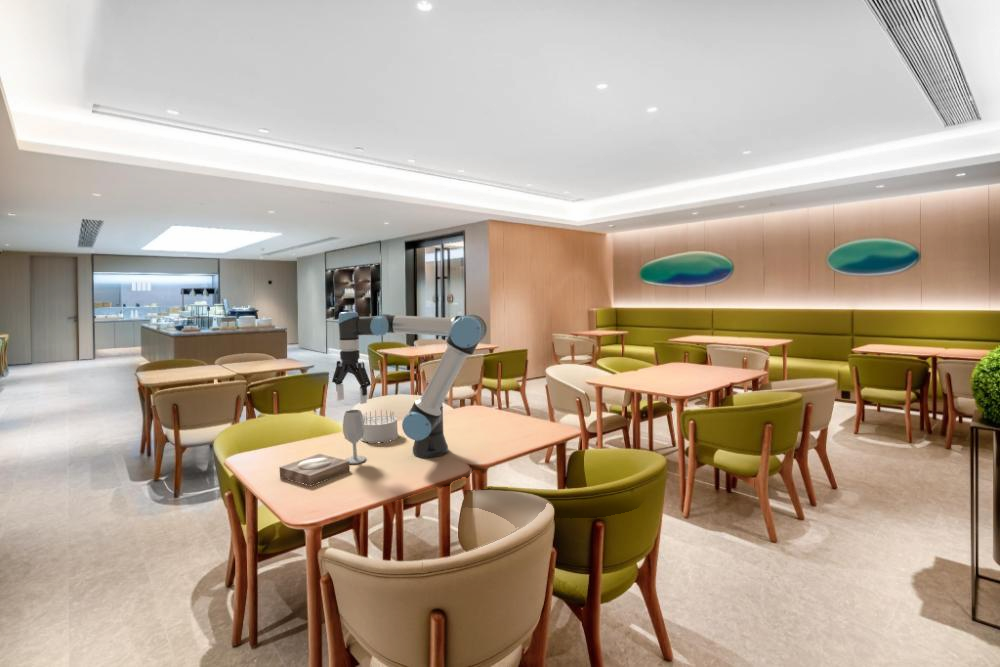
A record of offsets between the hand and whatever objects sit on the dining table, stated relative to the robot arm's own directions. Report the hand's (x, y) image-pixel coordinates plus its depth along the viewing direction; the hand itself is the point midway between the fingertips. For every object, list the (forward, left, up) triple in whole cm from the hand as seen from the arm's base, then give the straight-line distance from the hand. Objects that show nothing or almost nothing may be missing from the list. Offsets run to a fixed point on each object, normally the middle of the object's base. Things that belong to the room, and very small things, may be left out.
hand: (351, 401), depth 206 cm
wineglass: (0, 0, -25) cm, 25 cm away
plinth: (+2, +18, -25) cm, 31 cm away
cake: (+16, -29, -25) cm, 42 cm away
